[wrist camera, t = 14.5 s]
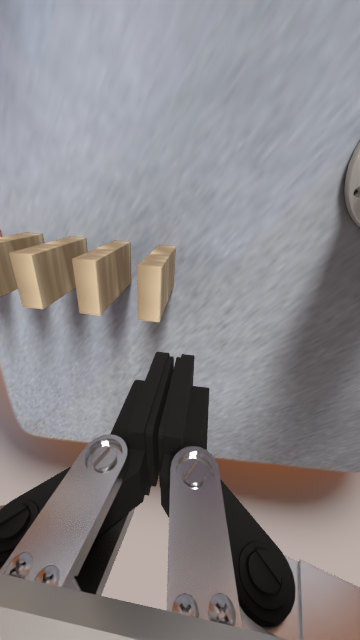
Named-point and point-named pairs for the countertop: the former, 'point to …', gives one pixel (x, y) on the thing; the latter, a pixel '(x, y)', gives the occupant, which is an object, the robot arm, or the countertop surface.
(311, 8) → the countertop surface
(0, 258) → the domino
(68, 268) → the domino
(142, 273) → the domino
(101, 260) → the domino
